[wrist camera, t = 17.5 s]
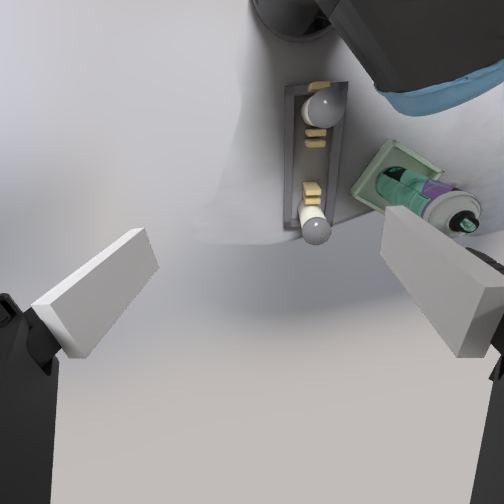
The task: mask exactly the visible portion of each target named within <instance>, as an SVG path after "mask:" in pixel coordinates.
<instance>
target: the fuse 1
mask: <svg viewBox="0 0 504 504" xmlns="http://www.w3.org/2000/svg"><path fill="white" fill-rule="evenodd" d="M344 111H345V98H344V96H343V94H342V92H341V91H340V90H338V89H337V88H334V87H325V88H322V89H320V90H319V91H317V92H316V93H315V94H314V95H313V96H312V97H310V98H309V99H308V100H306V101H305V103H304V104H303V106H302V109H301V116H302V119H303V121H304V122H305V123H306V124H308V125H312V126H316V127H319V128H329V127H332V126H334V125H335V124H336V123H338V122H339V120H340V119H341V118H342V116H343V114H344Z"/></svg>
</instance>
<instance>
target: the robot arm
mask: <svg viewBox="0 0 504 504" xmlns="http://www.w3.org/2000/svg"><path fill="white" fill-rule="evenodd" d="M252 1H253V4H254V7H255V9H256V11H257V13H258V15H259V17H260V19H261V20H262V22H263V23H264V24H265V26H266V27H267V28H268V29H269V30H270V31H271V32H273V33H274V34H275V35H277V36H278V37H280V38H282V39H284V40H287V41H291V42H307V41H311V40H314V39H317V38H319V37H321V36H323V35H324V34H326V33H327V32H329V31H330V30H331V29H333V28H335V29H336V31H337V32H338V33H339V35H340V36H341V38H342V39H343V40H344V42H345V43H346V44H347V46H348V47H349V48H350V50H351V51H352V53H353V54H354V55H355V57H356V58H357V59H358V61H359V62H360V64H361V65H362V66H363V68H364V69H365V70H366V72H367V73H368V74H369V76H370V77H371V79H372V80H373V81H374V87H375V89H376V91H377V92H378V93H380V94H381V95H383V96H385V98H386V99H387V100H388V101H389V102H390V104H391V105H392V106H393V107H394V109H395V110H396V111H398V112H399V113H402V114H404V115H408V116H415V117H416V116H426V115H431V114H435V113H438V112H441V111H444V110H447V109H450V108H452V107H455V106H458V105H460V104H462V103H465V102H467V101H469V100H471V99H473V98H475V97H477V96H479V95H481V94H483V93H485V92H487V91H489V90H491V89H492V88H494V87H496V86H497V85H499V84H501V83H502V82H503V81H504V0H252ZM380 256H381V257H382V259H383V260H384V261H385V263H386V264H387V265H388V267H389V268H390V269H391V271H392V272H393V273H394V274H395V276H396V277H397V279H398V280H399V281H400V282H401V284H402V285H403V287H404V288H405V289H406V291H407V292H408V293H409V294H410V296H411V297H412V299H413V300H414V301H415V303H416V304H417V305H418V307H419V308H420V309H421V311H422V312H423V313H424V315H425V316H426V317H427V319H428V320H429V321H430V323H431V324H432V325H433V327H434V328H435V330H436V331H437V332H438V334H439V335H440V336H441V337H442V339H443V340H444V341H445V343H446V344H447V346H448V347H449V348H450V349H451V351H452V352H453V354H454V355H455V356H456V358H484V357H485V355H486V352H487V350H488V348H489V346H490V344H492V345H493V346H494V347H495V348H496V349H497V350H498V351H499V353H500V354H501V356H500V358H499V360H498V362H497V364H496V365H495V367H494V369H493V371H492V373H491V375H490V377H489V379H490V380H492V381H493V386H492V391H491V396H490V401H489V407H488V412H487V417H486V423H485V427H484V433H483V438H482V443H481V448H480V454H479V459H478V464H477V469H476V474H475V479H474V485H473V490H472V495H471V500H470V504H504V266H503V265H501V264H500V263H497V262H496V261H495V260H493V259H492V258H490V257H489V256H487V255H486V254H484V253H481V252H479V251H476V250H474V249H471V248H464V247H462V246H461V245H459V244H458V243H456V242H455V241H454V240H452V239H451V238H449V237H448V236H446V235H445V234H443V233H442V232H441V231H439V230H438V229H436V228H435V227H433V226H432V225H430V224H429V223H428V222H426V221H425V220H423V219H422V218H420V217H419V216H417V215H416V214H415V213H413V212H412V211H410V210H409V209H407V208H406V207H405V206H403V205H399V206H387V207H386V211H385V218H384V225H383V232H382V240H381V247H380ZM158 268H159V266H158V263H157V261H156V258H155V255H154V253H153V250H152V247H151V244H150V242H149V239H148V236H147V233H146V230H145V228H134V229H131V230H130V231H129V232H127V233H126V234H125V235H123V236H122V237H121V238H119V239H118V240H117V241H115V242H114V243H113V244H111V245H110V246H109V247H107V248H106V249H105V250H103V251H102V252H101V253H99V254H98V255H97V256H95V257H94V258H93V259H91V260H90V261H89V262H87V263H86V264H85V265H83V266H82V267H81V268H79V269H78V270H77V271H75V272H74V273H72V274H71V275H70V276H69V277H67V278H66V279H64V280H63V281H62V282H60V283H59V284H58V285H56V286H55V287H54V288H53V289H51V290H50V291H48V292H47V293H46V294H45V295H43V296H42V297H40V298H39V299H38V300H37V301H35V302H34V303H33V304H31V307H30V308H29V309H28V310H27V311H25V312H24V313H23V312H22V311H21V310H20V308H19V307H18V306H17V304H16V303H15V302H14V300H13V299H12V298H11V296H10V295H9V294H7V293H2V294H0V504H50V499H51V483H52V468H53V452H54V436H55V419H56V404H57V389H58V372H59V361H58V359H57V357H56V356H55V354H56V353H57V352H58V351H59V350H60V349H61V348H62V349H63V351H64V352H65V353H66V355H67V356H68V358H87V357H88V355H89V354H90V353H91V352H92V351H93V349H94V348H95V347H96V346H97V344H98V343H99V342H100V341H101V339H102V338H103V337H104V335H105V334H106V333H107V332H108V331H109V329H110V328H111V327H112V325H113V324H114V323H115V322H116V321H117V319H118V318H119V317H120V316H121V314H122V313H123V312H124V310H125V309H126V308H127V307H128V306H129V304H130V303H131V302H132V301H133V300H134V298H135V297H136V296H137V295H138V293H139V292H140V291H141V290H142V288H143V287H144V286H145V285H146V283H147V282H148V281H149V279H150V278H151V277H152V276H153V275H154V273H155V272H156V271H157V270H158Z"/></svg>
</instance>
